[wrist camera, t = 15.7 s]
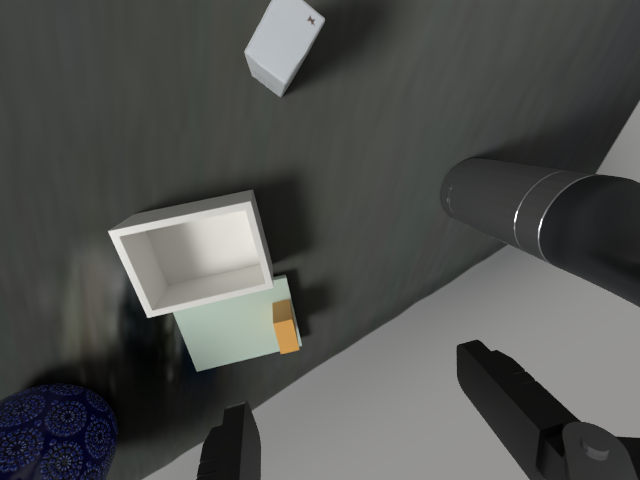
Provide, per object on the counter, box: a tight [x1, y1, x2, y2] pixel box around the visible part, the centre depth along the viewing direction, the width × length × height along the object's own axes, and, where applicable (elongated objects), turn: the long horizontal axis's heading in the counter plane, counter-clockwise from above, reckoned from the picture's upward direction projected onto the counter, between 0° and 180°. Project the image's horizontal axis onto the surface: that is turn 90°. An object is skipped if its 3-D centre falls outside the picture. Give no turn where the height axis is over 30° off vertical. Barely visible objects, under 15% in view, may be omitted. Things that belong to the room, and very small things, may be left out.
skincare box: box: [244, 0, 325, 97], centre depth 30 cm, size 6×4×12 cm
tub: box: [108, 190, 274, 318], centre depth 38 cm, size 15×11×7 cm
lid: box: [173, 275, 302, 372], centre depth 43 cm, size 16×12×7 cm
